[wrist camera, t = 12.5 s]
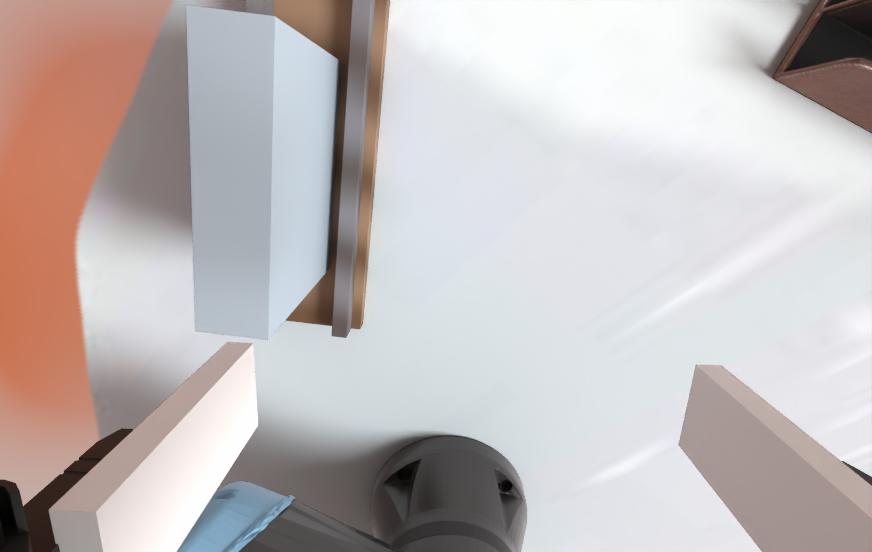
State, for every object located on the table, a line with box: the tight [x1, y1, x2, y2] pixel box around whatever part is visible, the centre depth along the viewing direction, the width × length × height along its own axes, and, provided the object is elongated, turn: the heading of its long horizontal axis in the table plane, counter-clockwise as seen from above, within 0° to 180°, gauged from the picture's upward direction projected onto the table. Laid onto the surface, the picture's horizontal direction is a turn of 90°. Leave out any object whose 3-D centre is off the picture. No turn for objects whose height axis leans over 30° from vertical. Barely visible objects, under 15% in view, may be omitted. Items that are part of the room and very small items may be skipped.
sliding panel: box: [186, 5, 341, 340], centre depth 30 cm, size 16×4×14 cm, turn 173°
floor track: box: [245, 0, 390, 338], centre depth 37 cm, size 26×10×4 cm, turn 173°
